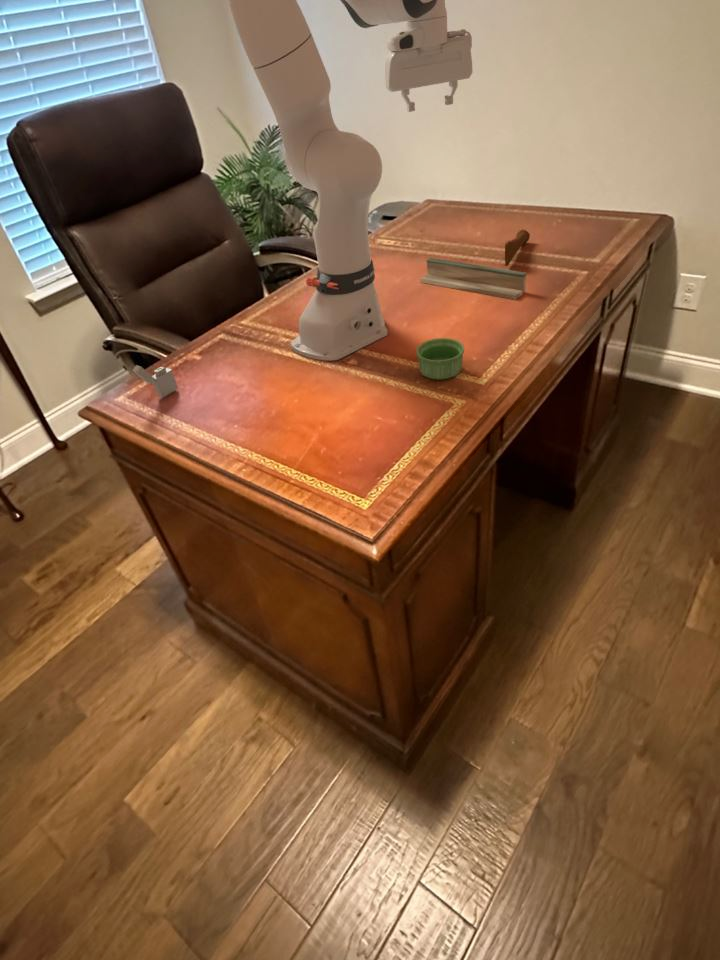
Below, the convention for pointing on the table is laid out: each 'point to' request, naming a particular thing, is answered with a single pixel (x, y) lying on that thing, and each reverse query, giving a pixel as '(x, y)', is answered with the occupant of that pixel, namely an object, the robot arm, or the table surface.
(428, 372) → the ramekin
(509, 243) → the primitive tool
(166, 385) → the lighter
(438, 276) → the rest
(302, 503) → the table surface
